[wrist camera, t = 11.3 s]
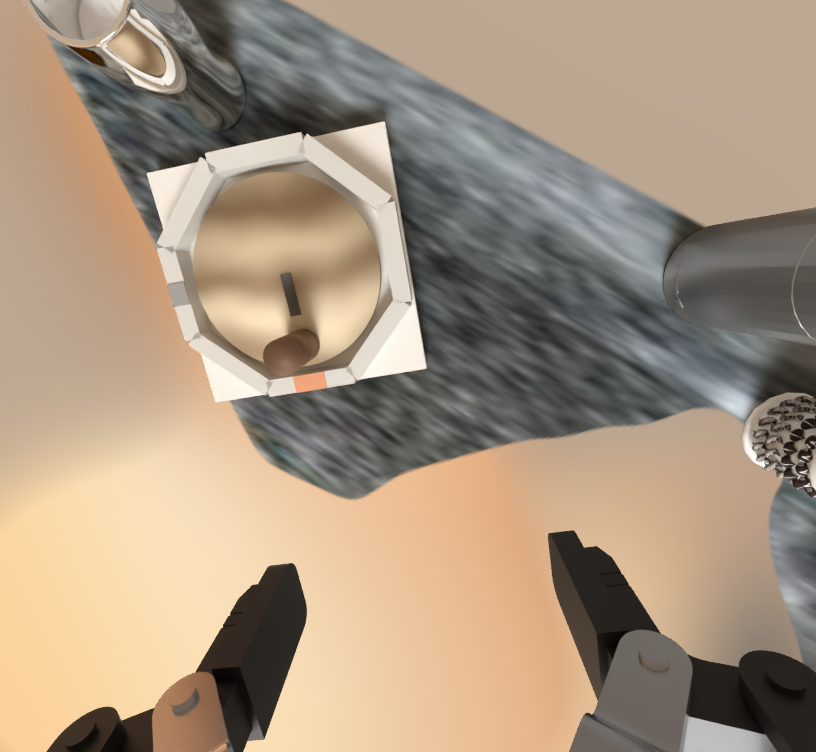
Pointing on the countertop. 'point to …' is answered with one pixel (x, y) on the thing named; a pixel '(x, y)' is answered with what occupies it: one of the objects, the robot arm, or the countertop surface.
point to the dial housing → (358, 183)
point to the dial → (286, 270)
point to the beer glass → (149, 53)
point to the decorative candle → (785, 438)
